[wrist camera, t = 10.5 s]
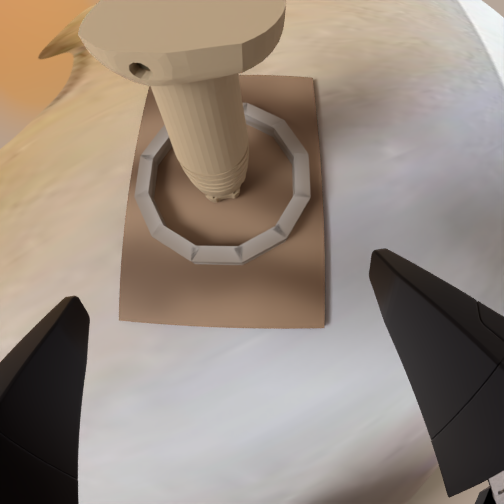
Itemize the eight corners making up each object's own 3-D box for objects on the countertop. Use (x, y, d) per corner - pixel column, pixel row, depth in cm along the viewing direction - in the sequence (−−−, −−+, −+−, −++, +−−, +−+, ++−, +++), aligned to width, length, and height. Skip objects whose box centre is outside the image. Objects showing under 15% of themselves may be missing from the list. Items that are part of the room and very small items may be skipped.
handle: (193, 143, 22) (133, -29, 7) (276, 166, 21) (302, -20, 7) (167, 200, 21) (52, 52, 6) (253, 229, 21) (252, 68, 6)
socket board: (322, 327, 20) (328, 329, 18) (121, 320, 20) (110, 321, 18) (311, 81, 23) (314, 68, 22) (152, 84, 24) (146, 72, 22)
